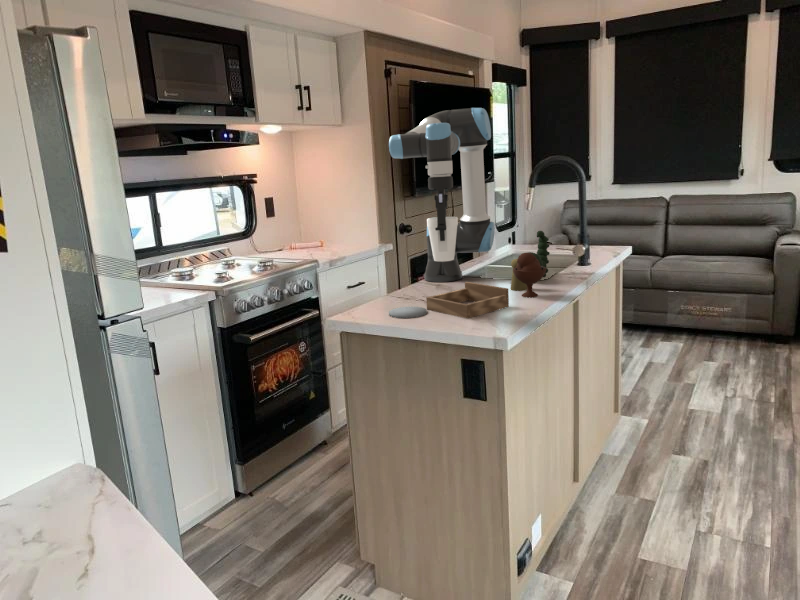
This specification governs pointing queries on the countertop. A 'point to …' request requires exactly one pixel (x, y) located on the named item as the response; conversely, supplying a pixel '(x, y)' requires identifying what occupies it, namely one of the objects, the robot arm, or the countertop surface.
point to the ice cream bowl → (529, 272)
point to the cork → (516, 280)
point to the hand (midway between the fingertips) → (443, 249)
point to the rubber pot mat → (407, 312)
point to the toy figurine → (542, 250)
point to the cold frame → (481, 294)
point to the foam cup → (451, 238)
